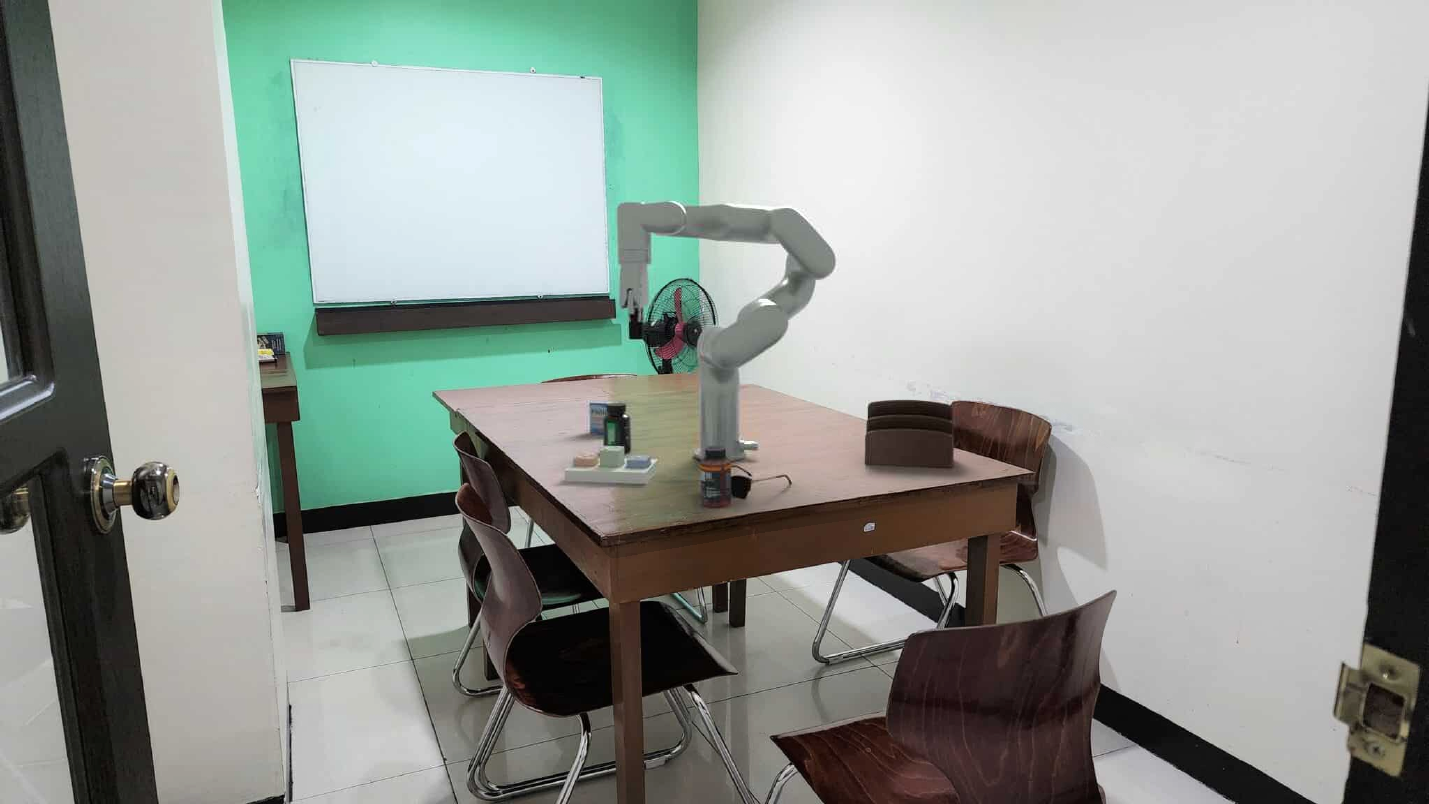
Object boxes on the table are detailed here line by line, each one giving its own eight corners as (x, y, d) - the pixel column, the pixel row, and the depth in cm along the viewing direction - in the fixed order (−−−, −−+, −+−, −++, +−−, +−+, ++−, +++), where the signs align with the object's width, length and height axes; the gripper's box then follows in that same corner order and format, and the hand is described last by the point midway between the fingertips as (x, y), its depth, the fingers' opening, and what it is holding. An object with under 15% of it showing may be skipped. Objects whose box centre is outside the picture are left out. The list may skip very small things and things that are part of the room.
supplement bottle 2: (730, 499, 172) (730, 444, 170) (732, 508, 166) (732, 450, 164) (700, 500, 172) (700, 444, 170) (701, 508, 166) (700, 451, 164)
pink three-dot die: (598, 471, 194) (598, 453, 193) (593, 476, 190) (592, 458, 189) (579, 471, 194) (579, 453, 194) (573, 476, 190) (573, 457, 190)
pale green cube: (624, 463, 193) (624, 445, 192) (619, 468, 188) (619, 449, 188) (605, 463, 193) (604, 445, 193) (599, 468, 189) (599, 449, 188)
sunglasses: (698, 491, 179) (699, 467, 179) (746, 480, 192) (747, 458, 191) (750, 503, 171) (751, 478, 170) (797, 490, 183) (798, 467, 182)
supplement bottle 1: (613, 456, 210) (612, 407, 208) (598, 451, 215) (596, 404, 213) (636, 452, 214) (635, 404, 212) (621, 447, 219) (620, 400, 217)
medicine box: (589, 434, 236) (588, 402, 235) (596, 430, 240) (595, 400, 239) (616, 435, 234) (615, 404, 232) (622, 432, 238) (621, 401, 237)
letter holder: (866, 455, 209) (867, 398, 207) (951, 459, 205) (953, 400, 202) (864, 465, 199) (865, 405, 197) (953, 469, 195) (955, 407, 193)
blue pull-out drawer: (651, 473, 192) (650, 455, 191) (646, 478, 188) (646, 459, 187) (631, 472, 193) (631, 454, 192) (626, 477, 188) (626, 459, 188)
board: (658, 470, 196) (658, 459, 195) (646, 484, 184) (646, 472, 184) (581, 467, 198) (581, 457, 198) (564, 481, 187) (564, 470, 186)
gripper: (626, 258, 203) (628, 335, 206) (609, 258, 189) (612, 342, 192) (657, 257, 202) (659, 336, 205) (643, 258, 188) (645, 342, 191)
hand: (636, 338), depth 198 cm, fingers closed
